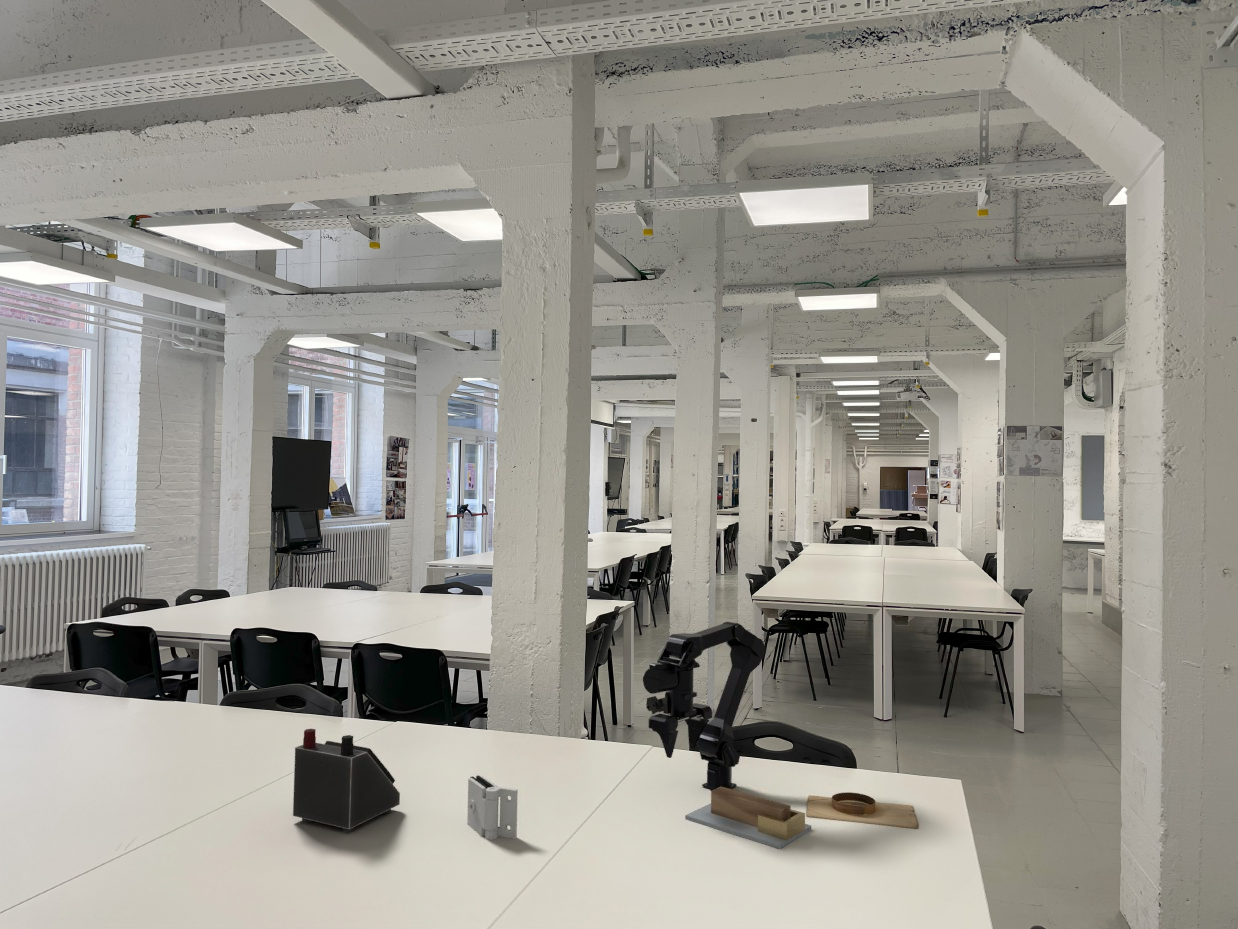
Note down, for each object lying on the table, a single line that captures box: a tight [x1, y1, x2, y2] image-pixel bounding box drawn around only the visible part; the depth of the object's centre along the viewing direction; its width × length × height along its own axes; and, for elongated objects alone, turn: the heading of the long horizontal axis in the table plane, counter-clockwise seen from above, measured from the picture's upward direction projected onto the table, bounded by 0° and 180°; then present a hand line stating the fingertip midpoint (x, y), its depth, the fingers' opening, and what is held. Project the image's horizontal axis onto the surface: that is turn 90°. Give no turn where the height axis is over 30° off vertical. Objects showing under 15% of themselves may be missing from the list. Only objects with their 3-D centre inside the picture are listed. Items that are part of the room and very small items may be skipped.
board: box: [805, 791, 919, 830], centre depth 194 cm, size 25×15×3 cm, turn 76°
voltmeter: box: [292, 728, 401, 833], centre depth 187 cm, size 16×16×20 cm
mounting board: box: [684, 802, 812, 850], centre depth 186 cm, size 14×24×1 cm, turn 50°
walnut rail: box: [710, 787, 792, 827], centre depth 185 cm, size 4×18×5 cm, turn 50°
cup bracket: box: [758, 808, 806, 841], centre depth 180 cm, size 8×7×4 cm
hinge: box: [466, 774, 519, 840], centre depth 179 cm, size 14×5×10 cm, turn 46°
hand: (680, 753), depth 200 cm, fingers open, 9 cm apart
